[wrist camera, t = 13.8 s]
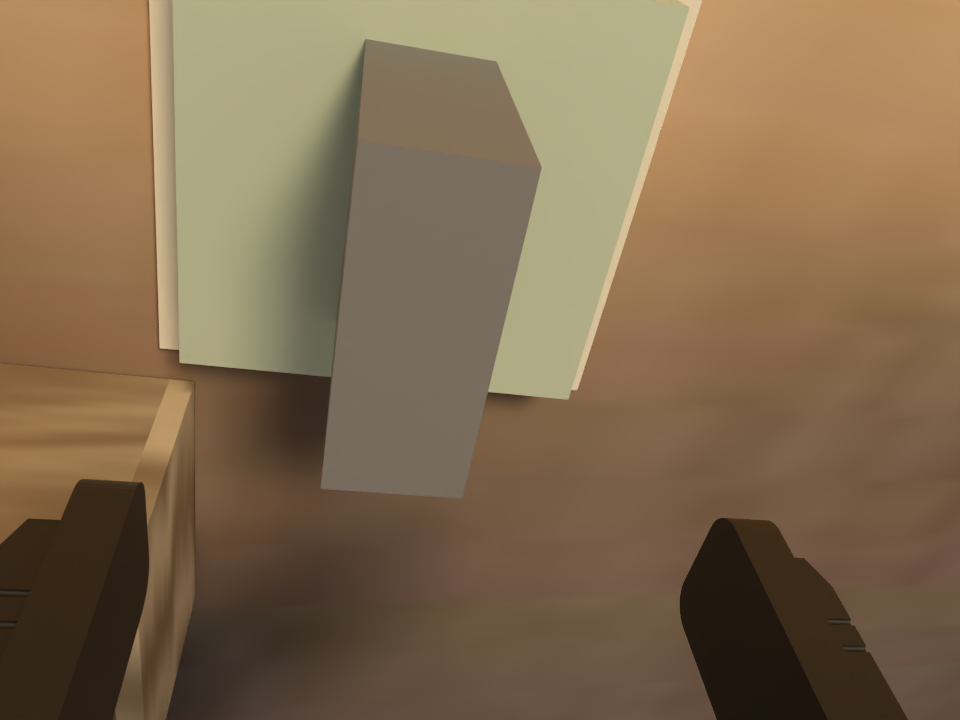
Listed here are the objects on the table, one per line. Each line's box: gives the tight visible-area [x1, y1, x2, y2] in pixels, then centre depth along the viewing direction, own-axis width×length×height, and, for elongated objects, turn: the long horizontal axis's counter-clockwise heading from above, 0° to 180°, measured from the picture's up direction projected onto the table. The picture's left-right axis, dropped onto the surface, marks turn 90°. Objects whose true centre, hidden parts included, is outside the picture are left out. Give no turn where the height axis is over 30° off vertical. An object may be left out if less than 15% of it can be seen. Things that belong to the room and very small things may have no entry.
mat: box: [149, 0, 702, 390], centre depth 24 cm, size 14×14×1 cm
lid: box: [172, 0, 689, 499], centre depth 20 cm, size 12×12×9 cm
